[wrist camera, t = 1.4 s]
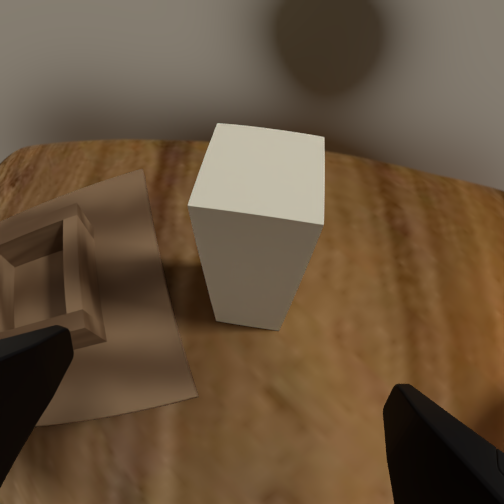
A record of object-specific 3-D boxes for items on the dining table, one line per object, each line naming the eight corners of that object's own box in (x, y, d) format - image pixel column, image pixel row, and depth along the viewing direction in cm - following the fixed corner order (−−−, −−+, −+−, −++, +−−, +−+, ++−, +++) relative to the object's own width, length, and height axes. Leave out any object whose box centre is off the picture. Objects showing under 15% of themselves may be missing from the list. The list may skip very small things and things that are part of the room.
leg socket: (198, 396, 19) (187, 393, 15) (-13, 429, 15) (-48, 424, 11) (144, 175, 28) (133, 140, 24) (-16, 236, 24) (-39, 213, 20)
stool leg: (279, 330, 21) (323, 224, 10) (216, 321, 21) (187, 205, 10) (286, 274, 23) (324, 137, 12) (227, 265, 23) (217, 123, 12)
